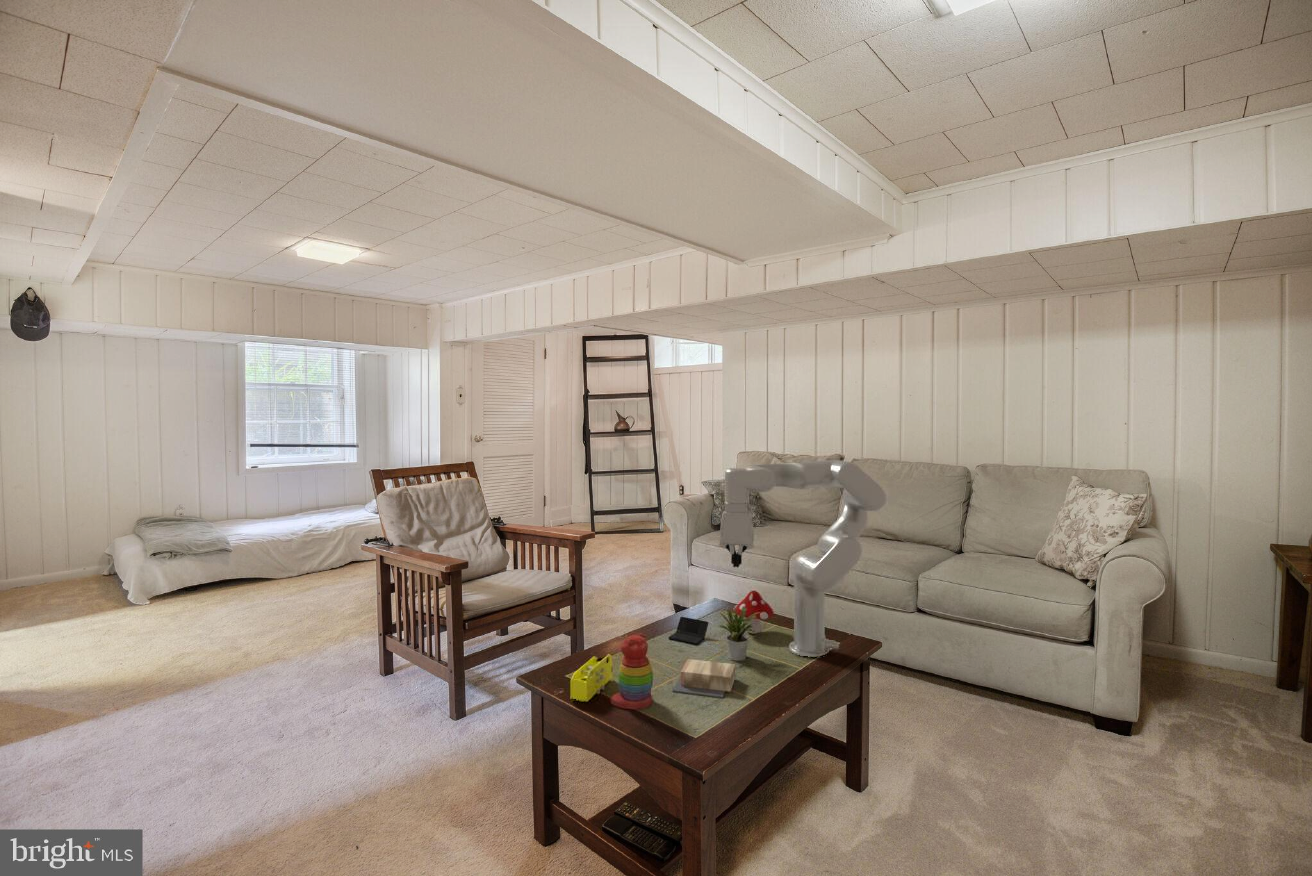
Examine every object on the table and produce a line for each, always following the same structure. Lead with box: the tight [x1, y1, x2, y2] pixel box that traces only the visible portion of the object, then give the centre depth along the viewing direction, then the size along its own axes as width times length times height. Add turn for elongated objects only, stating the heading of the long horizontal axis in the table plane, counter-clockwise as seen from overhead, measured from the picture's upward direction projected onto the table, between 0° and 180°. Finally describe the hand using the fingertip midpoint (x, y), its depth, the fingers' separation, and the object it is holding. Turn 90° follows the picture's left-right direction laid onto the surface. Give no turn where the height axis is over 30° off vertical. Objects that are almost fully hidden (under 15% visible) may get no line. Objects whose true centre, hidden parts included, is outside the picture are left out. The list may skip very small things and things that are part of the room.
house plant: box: [717, 606, 760, 662], centre depth 191 cm, size 14×14×16 cm
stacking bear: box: [609, 633, 654, 710], centre depth 164 cm, size 11×10×18 cm
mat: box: [672, 675, 726, 699], centre depth 175 cm, size 14×16×1 cm
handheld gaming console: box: [668, 616, 709, 646], centre depth 209 cm, size 12×7×10 cm
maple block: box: [680, 658, 736, 693], centre depth 175 cm, size 4×9×14 cm
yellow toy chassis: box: [569, 653, 614, 703], centre depth 170 cm, size 16×6×8 cm, turn 159°
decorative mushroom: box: [732, 590, 775, 635], centre depth 214 cm, size 14×14×15 cm
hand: (736, 566), depth 191 cm, fingers closed
